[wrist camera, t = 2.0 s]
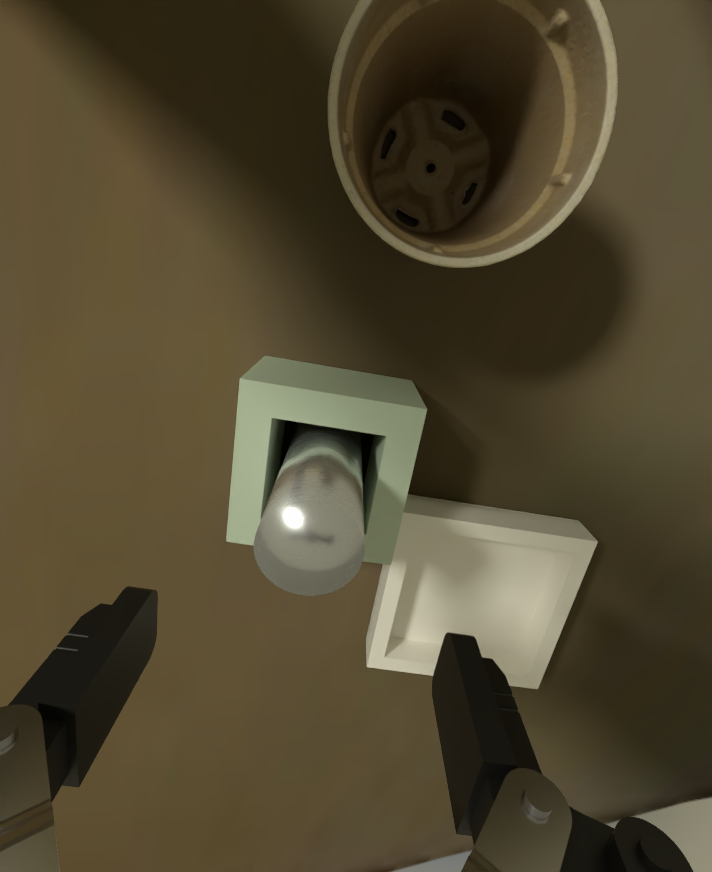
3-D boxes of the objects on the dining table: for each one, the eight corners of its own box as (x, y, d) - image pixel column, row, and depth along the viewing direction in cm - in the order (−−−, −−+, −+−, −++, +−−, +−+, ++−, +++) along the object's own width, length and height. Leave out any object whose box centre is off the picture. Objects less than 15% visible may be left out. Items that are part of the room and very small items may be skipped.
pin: (291, 461, 28) (249, 587, 17) (300, 400, 27) (259, 492, 16) (355, 471, 28) (354, 602, 17) (366, 411, 27) (373, 509, 16)
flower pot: (540, 61, 21) (655, -70, 13) (508, 273, 24) (584, 274, 16) (341, 50, 21) (331, -91, 13) (334, 265, 24) (324, 261, 16)
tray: (366, 638, 33) (366, 666, 30) (398, 492, 29) (402, 512, 26) (525, 660, 34) (537, 689, 31) (578, 520, 30) (597, 541, 27)
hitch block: (251, 488, 29) (226, 541, 23) (265, 355, 26) (239, 378, 20) (384, 509, 29) (391, 565, 24) (411, 380, 26) (427, 409, 21)
